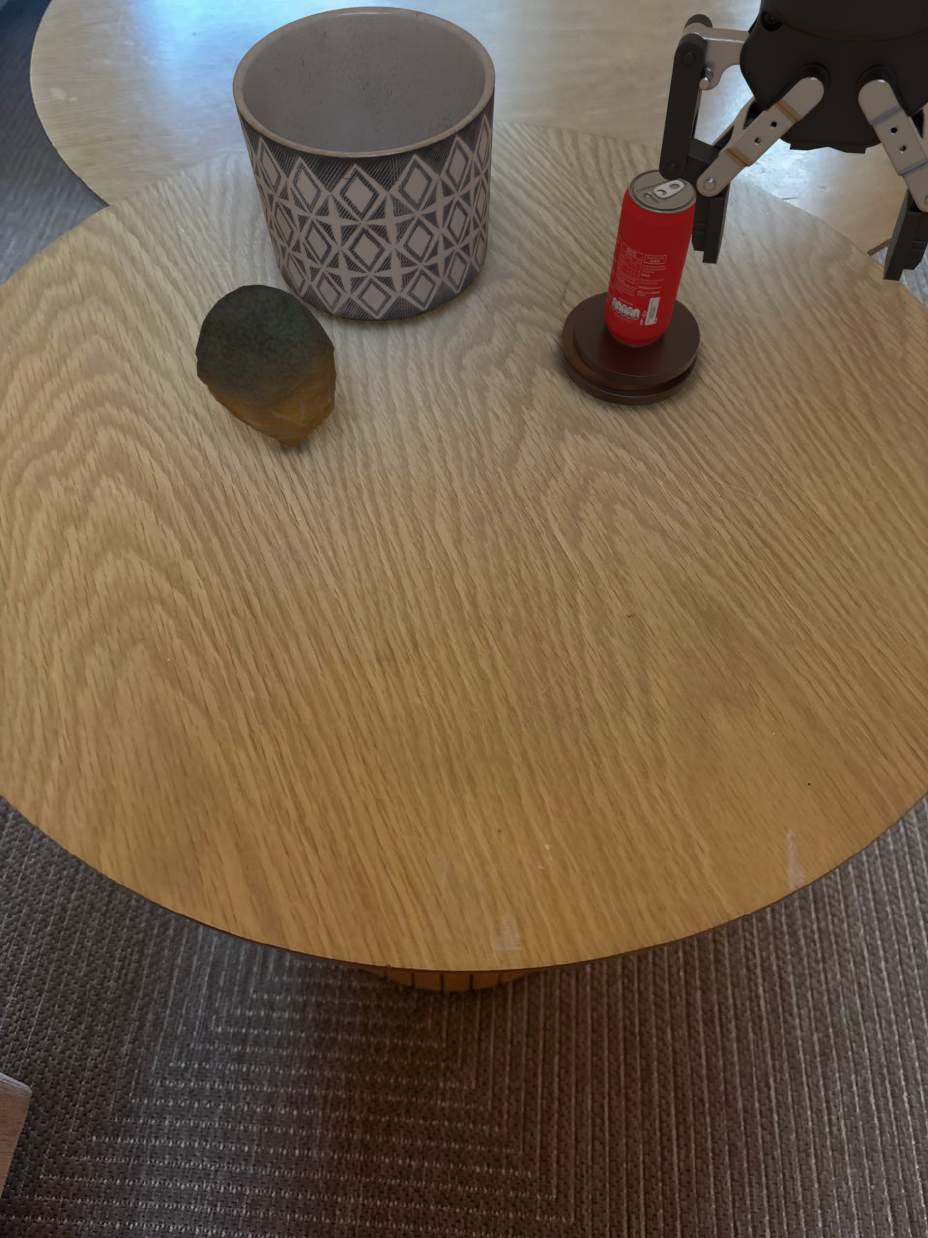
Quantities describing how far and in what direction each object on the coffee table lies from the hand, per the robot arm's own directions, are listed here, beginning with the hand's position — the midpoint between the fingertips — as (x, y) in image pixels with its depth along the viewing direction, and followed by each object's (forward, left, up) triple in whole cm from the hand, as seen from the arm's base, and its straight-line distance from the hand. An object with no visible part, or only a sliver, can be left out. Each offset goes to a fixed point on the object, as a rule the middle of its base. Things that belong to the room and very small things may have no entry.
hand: (800, 262), depth 44 cm
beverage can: (+8, -17, -21) cm, 28 cm away
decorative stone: (+32, -1, -24) cm, 40 cm away
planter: (+31, -23, -24) cm, 45 cm away
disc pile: (+8, -17, -24) cm, 30 cm away
